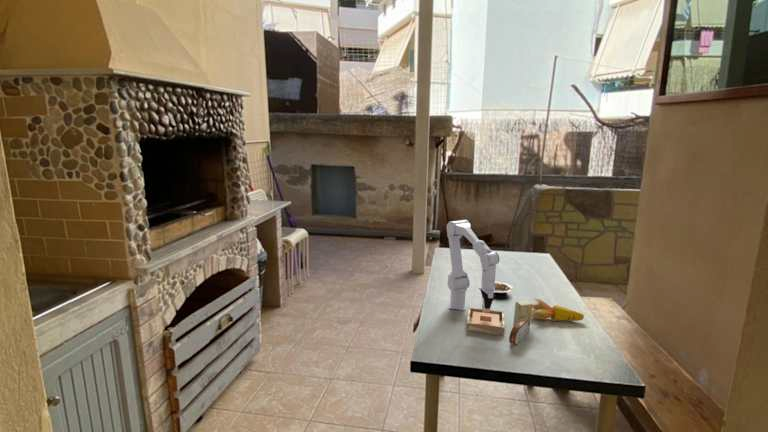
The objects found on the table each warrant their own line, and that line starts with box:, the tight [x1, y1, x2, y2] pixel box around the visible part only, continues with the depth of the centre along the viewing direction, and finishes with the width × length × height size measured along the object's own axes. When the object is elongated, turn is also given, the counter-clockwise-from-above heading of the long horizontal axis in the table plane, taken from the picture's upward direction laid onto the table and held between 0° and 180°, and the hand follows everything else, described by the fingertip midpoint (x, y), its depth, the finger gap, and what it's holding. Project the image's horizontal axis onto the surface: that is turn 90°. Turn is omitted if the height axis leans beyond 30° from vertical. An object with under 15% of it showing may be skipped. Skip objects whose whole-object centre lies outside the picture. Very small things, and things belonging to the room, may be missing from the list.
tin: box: [508, 318, 528, 346], centre depth 175 cm, size 15×3×8 cm, turn 141°
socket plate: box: [472, 311, 499, 326], centre depth 189 cm, size 12×12×2 cm
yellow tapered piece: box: [531, 297, 585, 322], centre depth 194 cm, size 8×8×25 cm
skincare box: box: [512, 299, 534, 330], centre depth 185 cm, size 6×4×12 cm
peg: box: [481, 298, 491, 313], centre depth 187 cm, size 4×4×7 cm
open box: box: [466, 306, 505, 337], centre depth 188 cm, size 16×16×4 cm
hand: (486, 306), depth 187 cm, fingers closed on peg, 3 cm apart
